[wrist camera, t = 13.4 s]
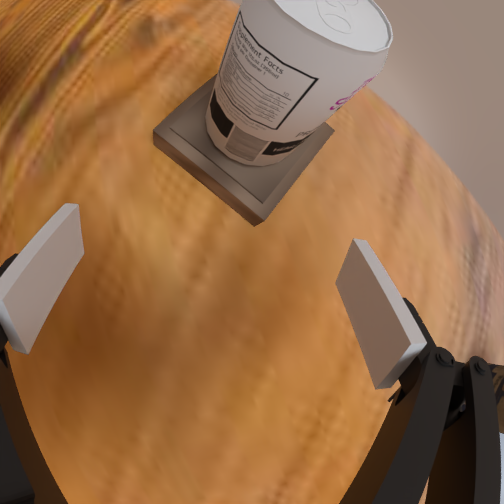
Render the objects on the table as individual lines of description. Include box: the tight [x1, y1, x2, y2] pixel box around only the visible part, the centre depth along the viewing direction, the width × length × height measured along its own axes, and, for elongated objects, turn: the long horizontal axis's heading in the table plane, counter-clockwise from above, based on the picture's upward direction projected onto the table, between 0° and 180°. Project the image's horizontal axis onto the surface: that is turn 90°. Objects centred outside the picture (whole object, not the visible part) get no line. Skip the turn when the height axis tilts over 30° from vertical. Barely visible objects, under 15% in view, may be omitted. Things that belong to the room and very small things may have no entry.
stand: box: [153, 73, 335, 227], centre depth 26 cm, size 12×12×3 cm
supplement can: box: [205, 0, 393, 166], centre depth 18 cm, size 8×8×15 cm
